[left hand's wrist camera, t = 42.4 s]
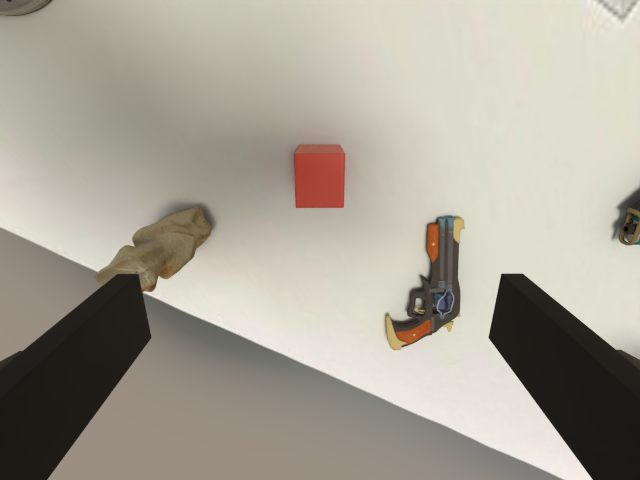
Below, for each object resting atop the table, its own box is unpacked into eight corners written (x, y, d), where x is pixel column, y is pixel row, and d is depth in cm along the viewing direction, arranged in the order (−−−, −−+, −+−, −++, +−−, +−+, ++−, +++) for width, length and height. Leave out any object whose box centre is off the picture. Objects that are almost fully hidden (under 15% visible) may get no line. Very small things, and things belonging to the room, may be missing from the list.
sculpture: (151, 215, 45) (74, 264, 30) (202, 194, 44) (146, 235, 30) (175, 254, 46) (112, 318, 32) (223, 235, 45) (180, 292, 31)
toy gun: (387, 354, 49) (462, 354, 48) (383, 222, 44) (467, 218, 42) (386, 343, 52) (457, 343, 50) (382, 218, 46) (461, 213, 45)
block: (300, 189, 44) (295, 207, 36) (299, 144, 42) (294, 153, 34) (339, 189, 44) (343, 207, 36) (340, 144, 42) (344, 153, 34)
